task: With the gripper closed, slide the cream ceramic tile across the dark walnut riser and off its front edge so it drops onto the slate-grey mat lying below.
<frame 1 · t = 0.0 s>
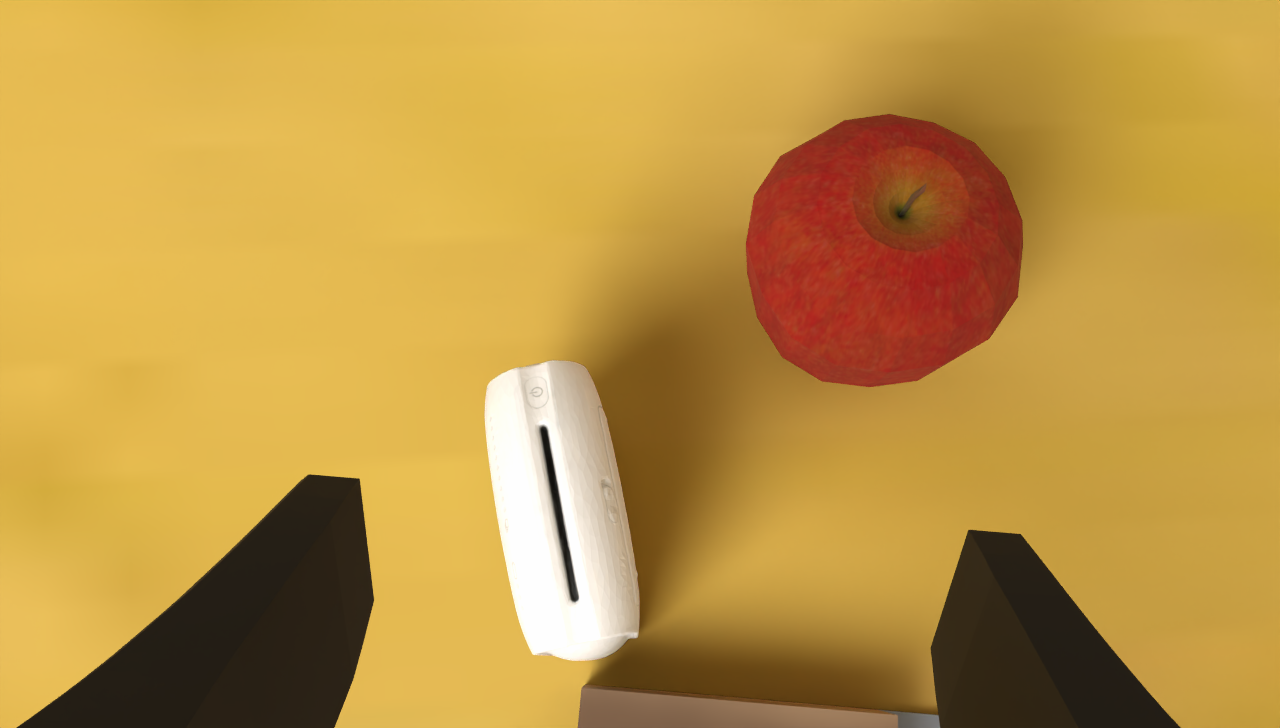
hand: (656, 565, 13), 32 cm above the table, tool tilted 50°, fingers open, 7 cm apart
photo printer: (576, 536, 45), on the table
apple: (840, 313, 47), on the table
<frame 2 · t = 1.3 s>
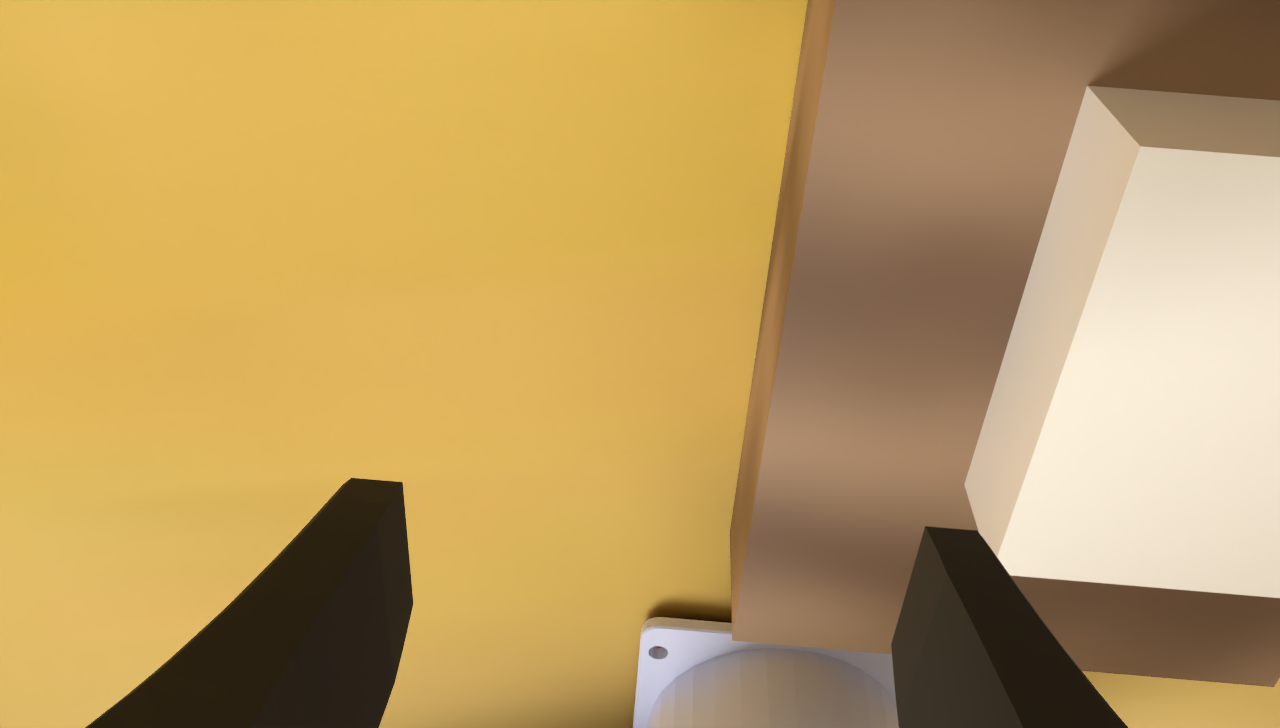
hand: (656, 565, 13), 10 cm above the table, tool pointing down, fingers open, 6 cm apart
cream tile: (1219, 362, 17), point 5 cm above the table, touching walnut riser
walnut riser: (1075, 228, 21), on the table
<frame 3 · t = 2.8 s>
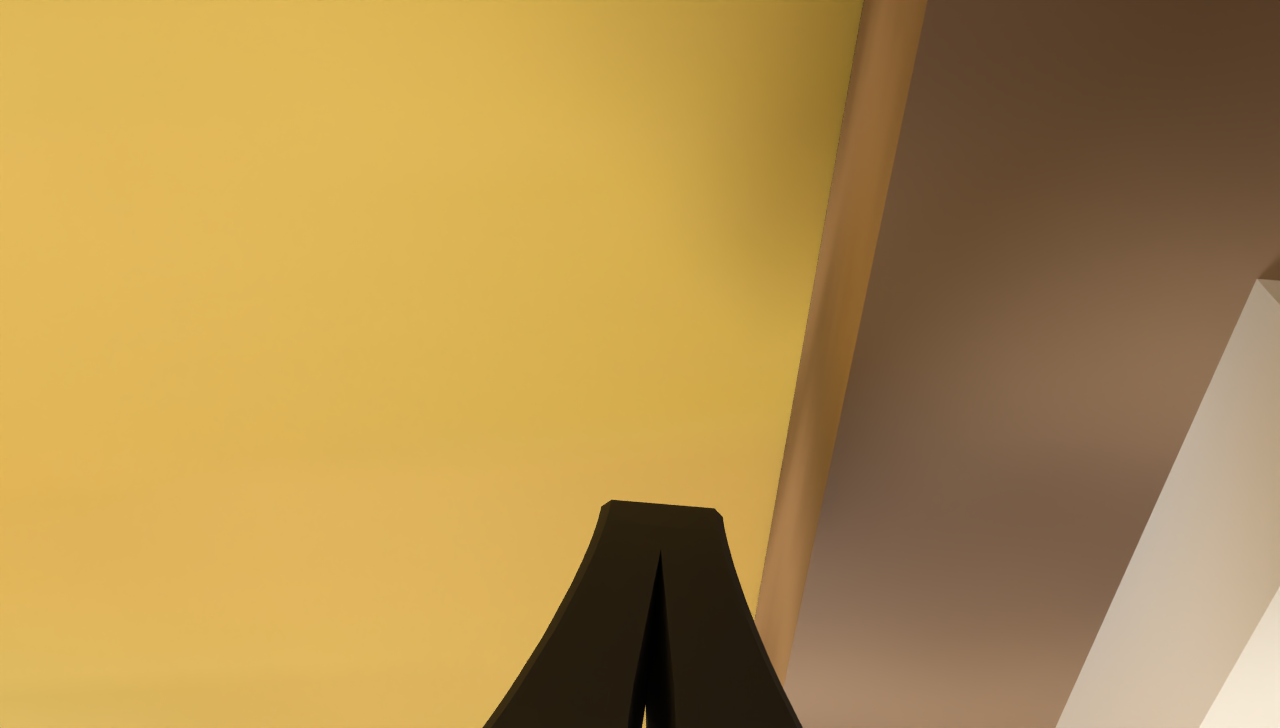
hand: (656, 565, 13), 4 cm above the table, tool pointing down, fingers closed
walnut riser: (1187, 404, 16), on the table
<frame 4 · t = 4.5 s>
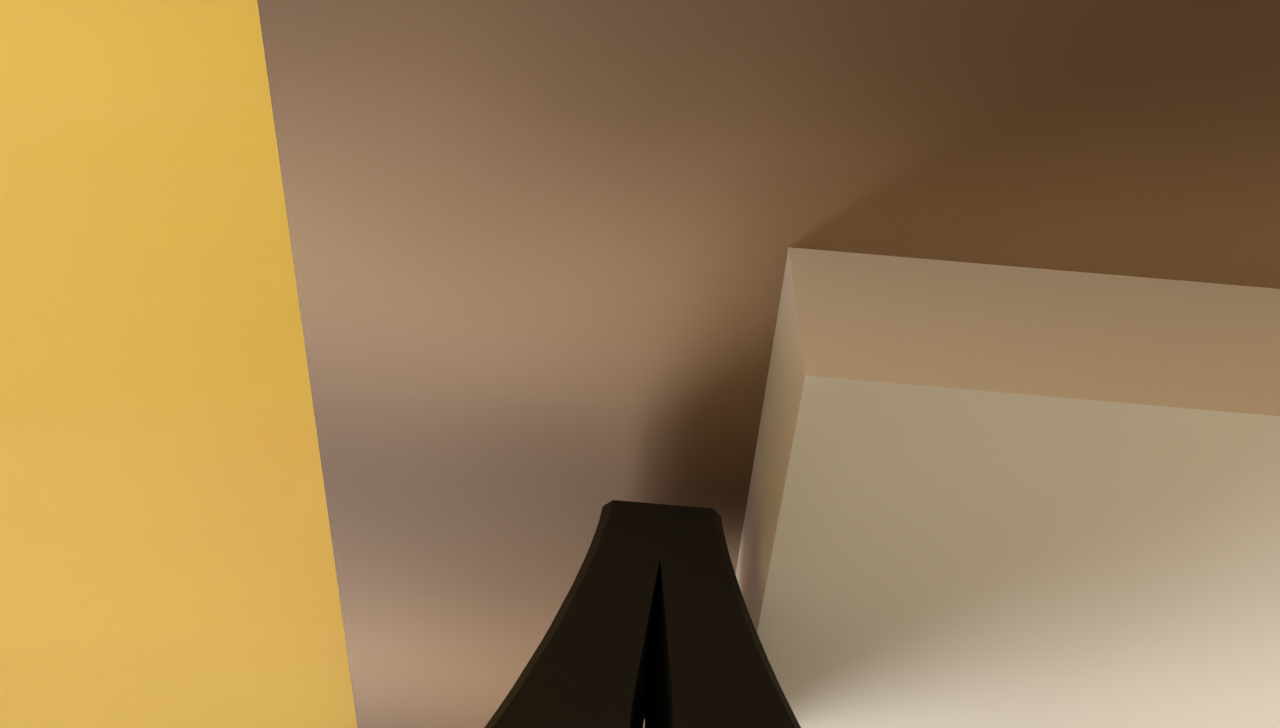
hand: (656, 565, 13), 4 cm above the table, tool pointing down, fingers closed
cream tile: (1000, 617, 12), point 5 cm above the table, touching gripper, walnut riser
walnut riser: (778, 371, 16), on the table
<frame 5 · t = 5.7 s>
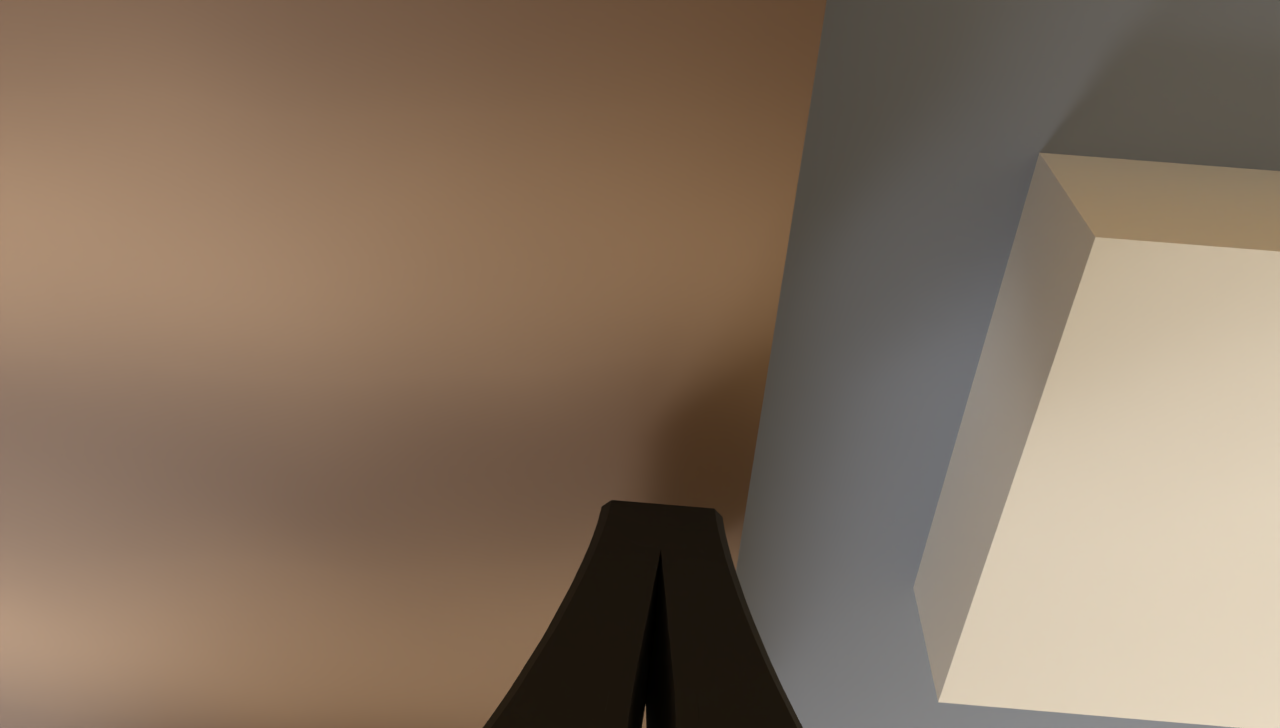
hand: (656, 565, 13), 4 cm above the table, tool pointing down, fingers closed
cream tile: (1196, 467, 15), point 2 cm above the table, tilted 180°, touching slate mat
walnut riser: (353, 336, 16), on the table
slate mat: (1125, 400, 16), on the table
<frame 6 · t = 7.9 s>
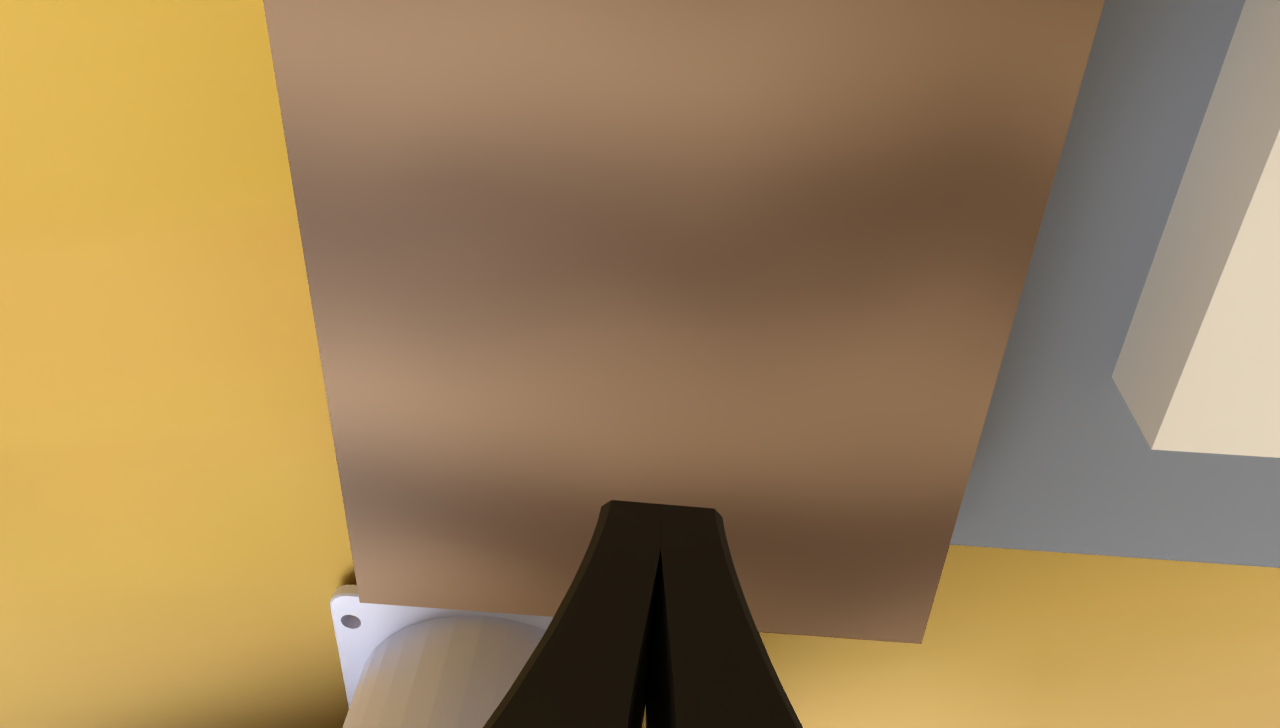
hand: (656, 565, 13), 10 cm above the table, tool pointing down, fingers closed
walnut riser: (667, 162, 20), on the table
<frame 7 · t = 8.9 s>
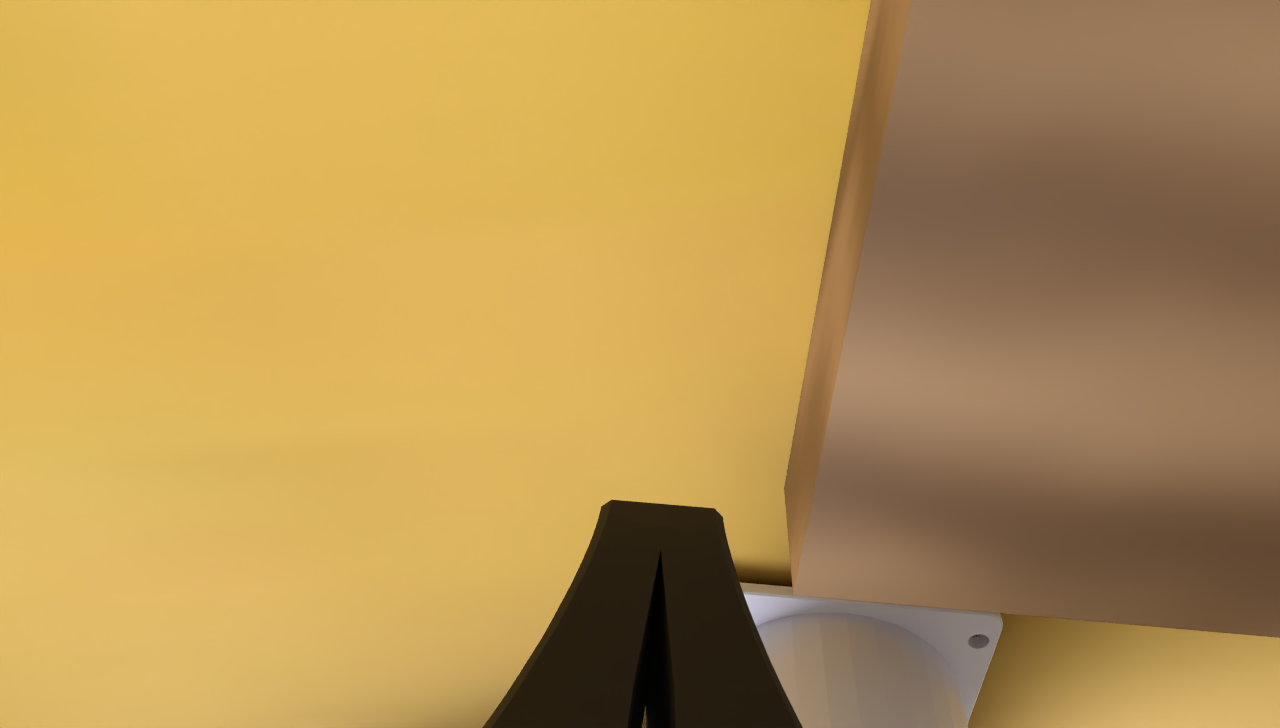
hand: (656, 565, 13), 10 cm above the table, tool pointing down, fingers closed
walnut riser: (1159, 156, 20), on the table
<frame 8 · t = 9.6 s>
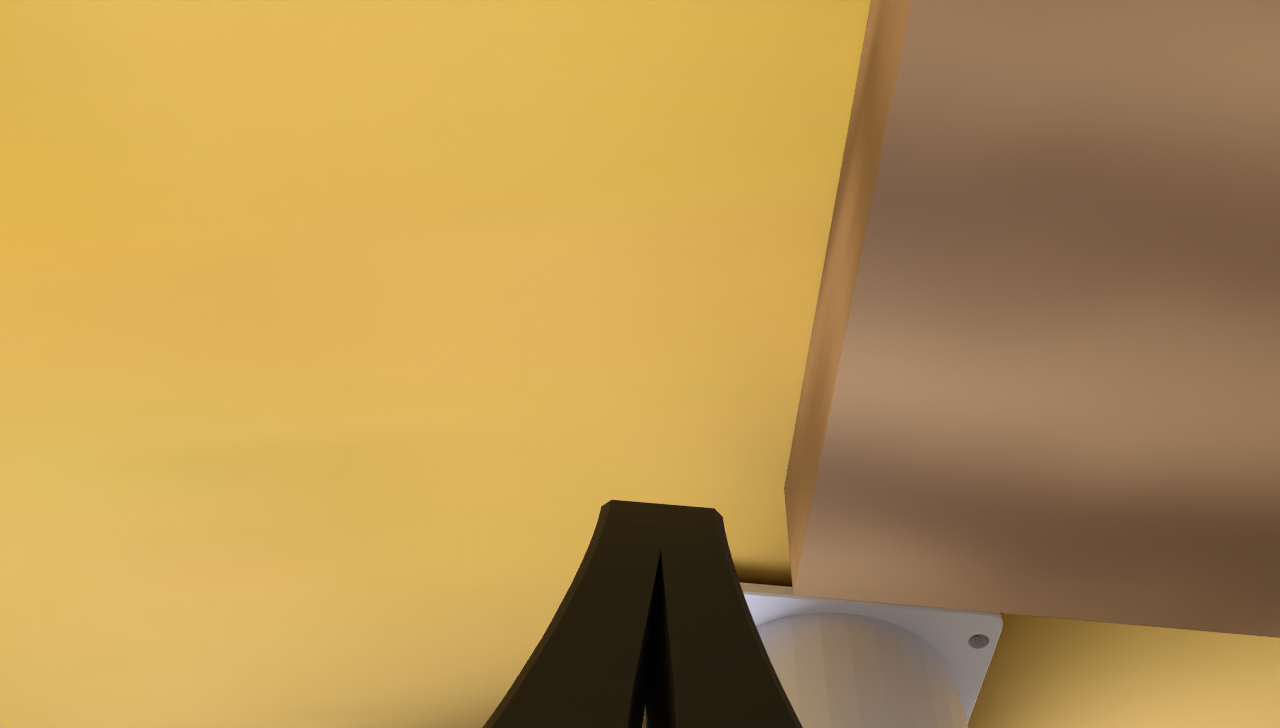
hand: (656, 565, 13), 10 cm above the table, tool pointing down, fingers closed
walnut riser: (1159, 156, 20), on the table
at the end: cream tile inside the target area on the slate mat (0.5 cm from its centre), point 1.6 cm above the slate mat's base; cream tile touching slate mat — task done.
